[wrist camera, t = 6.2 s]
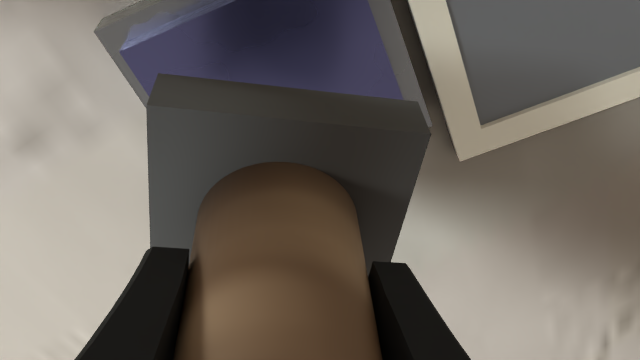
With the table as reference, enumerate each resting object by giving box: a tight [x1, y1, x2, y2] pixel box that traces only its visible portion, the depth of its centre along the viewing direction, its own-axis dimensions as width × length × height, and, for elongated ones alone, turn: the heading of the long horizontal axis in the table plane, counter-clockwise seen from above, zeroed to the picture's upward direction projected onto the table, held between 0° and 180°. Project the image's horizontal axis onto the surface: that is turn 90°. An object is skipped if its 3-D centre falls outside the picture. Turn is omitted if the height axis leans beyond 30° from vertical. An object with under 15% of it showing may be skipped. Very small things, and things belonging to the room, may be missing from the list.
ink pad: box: [94, 0, 433, 128], centre depth 17 cm, size 8×7×2 cm
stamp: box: [146, 73, 431, 360], centre depth 10 cm, size 5×5×7 cm
